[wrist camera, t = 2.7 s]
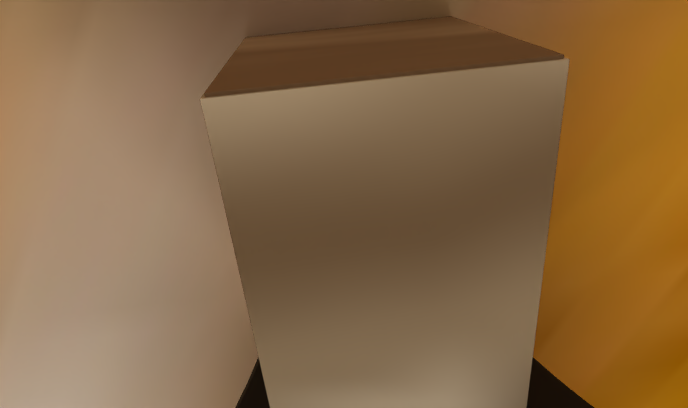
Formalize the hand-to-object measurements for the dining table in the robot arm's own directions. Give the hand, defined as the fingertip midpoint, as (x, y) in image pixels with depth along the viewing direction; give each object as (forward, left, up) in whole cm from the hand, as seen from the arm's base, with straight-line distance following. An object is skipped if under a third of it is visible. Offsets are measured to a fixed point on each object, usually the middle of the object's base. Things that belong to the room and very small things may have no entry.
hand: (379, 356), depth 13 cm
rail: (0, 0, -1) cm, 1 cm away
